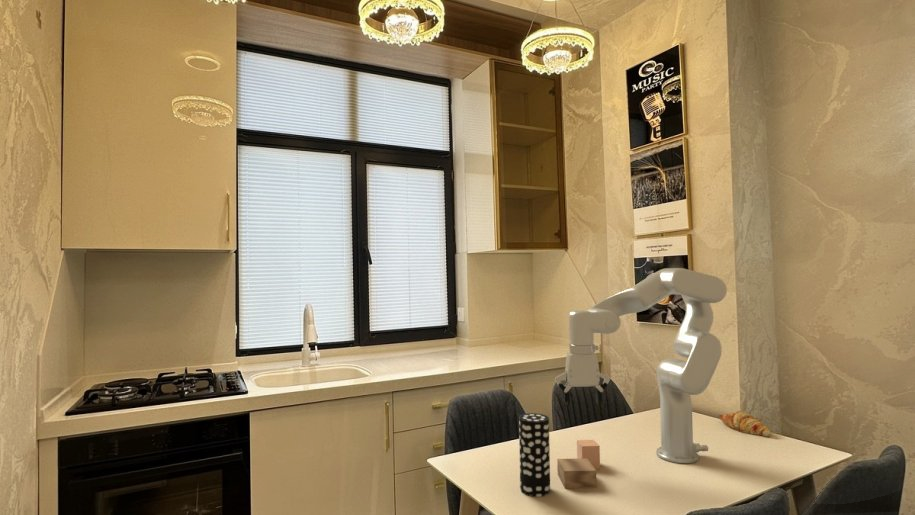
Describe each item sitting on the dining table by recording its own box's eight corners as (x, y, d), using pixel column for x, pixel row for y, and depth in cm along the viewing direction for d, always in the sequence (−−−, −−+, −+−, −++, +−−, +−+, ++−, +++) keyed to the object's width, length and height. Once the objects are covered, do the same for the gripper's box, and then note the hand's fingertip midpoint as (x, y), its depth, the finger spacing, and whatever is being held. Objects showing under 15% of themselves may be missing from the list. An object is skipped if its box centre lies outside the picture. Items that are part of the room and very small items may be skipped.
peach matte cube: (594, 461, 154) (593, 439, 155) (600, 468, 149) (599, 445, 149) (577, 462, 154) (576, 440, 154) (582, 469, 149) (582, 446, 149)
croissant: (776, 447, 175) (783, 426, 176) (760, 437, 171) (766, 416, 173) (724, 428, 194) (730, 409, 196) (708, 419, 191) (714, 400, 192)
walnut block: (587, 475, 145) (587, 458, 145) (596, 488, 136) (596, 470, 136) (557, 475, 145) (557, 458, 145) (564, 489, 136) (564, 471, 136)
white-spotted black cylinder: (517, 484, 139) (516, 413, 139) (545, 482, 139) (544, 412, 140) (523, 497, 130) (522, 422, 131) (553, 495, 131) (552, 421, 132)
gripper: (605, 347, 157) (606, 400, 156) (552, 348, 157) (553, 401, 156) (612, 351, 149) (614, 407, 149) (556, 352, 149) (558, 407, 149)
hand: (583, 404), depth 152 cm, fingers open, 9 cm apart
